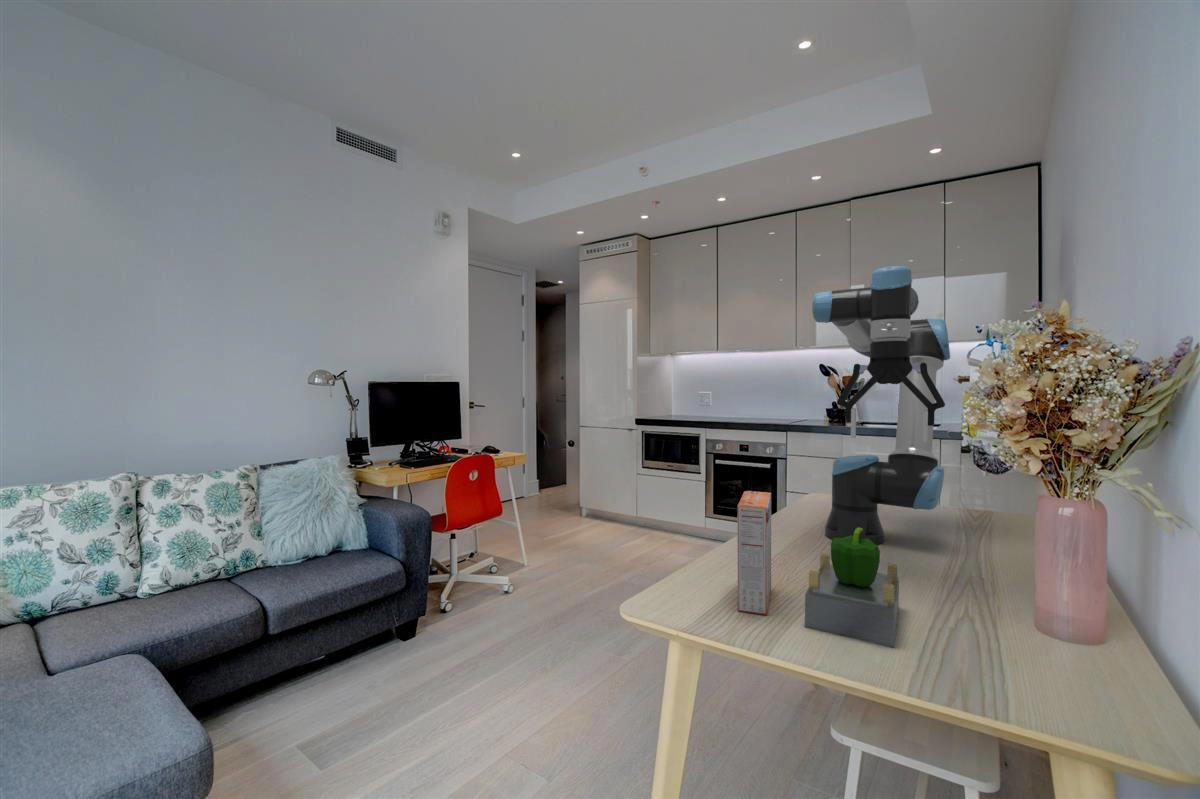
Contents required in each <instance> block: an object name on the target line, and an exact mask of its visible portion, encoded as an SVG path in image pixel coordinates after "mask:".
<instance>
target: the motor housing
mask: <svg viewBox="0 0 1200 799" xmlns="http://www.w3.org/2000/svg"><path fill="white" fill-rule="evenodd" d="M819 555H820V556H819V557H820V558H819V562H820V563H819V569H818V571H816V570H812V569H810V570H809V572H808V589H807V590H806V592H805V594H804V627H805V628H807V629H812V630H818V631H821V632H825V633H830V634H834V635H839V636H843V637H847V638H850V639H855V640H860V641H865V642H867V643H873V644H876V645H880V646H886V647H888V648H889V647H890V648H894V646H895V638H896V632H897V631H896V630H897V623H898V622H897V621H898V614H899V609H900V608H899V606H900V605H899V603H900V600H899V598H900V596H899V595H900V577H898V576H899V575H898V570H899V568H898V566H899V565H898V564H896V563H890V562H889V563H887V573H882V572H877V574H876V577H875V581H874V582H873V583H872V585H870V586H868V587H861V586H857V585H854V584H846V583H842V582H841V581H839V580H838V579H837V577H836V576H835V572H834V569H833V565H832V564H831V553H827V552H820V554H819Z"/></svg>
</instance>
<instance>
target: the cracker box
mask: <svg viewBox="0 0 1200 799" xmlns="http://www.w3.org/2000/svg"><path fill="white" fill-rule="evenodd" d="M736 509H737V510H736V513H737V515H736V518H737V519H736V520H737V522H736V524H737V526H736V527H737V528H736V529H737V532H736V533H737V536H736V537H737V539H736V540H737V542H736V543H737V611H738V612H741V613H743V612H744V613H749V614H750V613H751V614H756V615H764V616H768V614H769V606H770V600H771V591H772V492H767V491H756V490H755V491H753V490H745V491H744V492H743V494H742V495H741V498H740V500H739V502H738V504H737V507H736Z"/></svg>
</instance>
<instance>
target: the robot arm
mask: <svg viewBox="0 0 1200 799" xmlns="http://www.w3.org/2000/svg"><path fill="white" fill-rule="evenodd" d="M912 283H913V279H912V270H911V268H910V267H908V266H902V265H901V266H900V265H899V266H898V265H897V266H895V265H894V266H893V265H892V266H886V267H880V268H878V269H876V270H874V271H873V272H872V274H871V283H870V287H869V286H867V287H860V288H849V289H848V288H847V289H838V290H828V291H821V292H817V293H815V295H814V296H813V299H812V305H811V306H812V307H811V311H812V317H813V319H814V321H815V322H816V323H819V324H820V323H823V324H824V323H825V324H828V323H832V324H833V325H834V326H835V327H836V328H837V329H838V330H839V331H840V332H841V333H842V334H843V335H844V336H845V337H846V339H847V343H848V345H849V346H850V347H851V349H853V350H854V351H855V352H857V353H858V354H860V355H862V356H864V357H867V358H869V363H868V365H867V364H859V363H855V364H854V365H853V368H852V369H853V370H852V375H851V376H850V378H849V379H848V381H847V383H846V385H845V386H844V388H843V390H842V392H841V394H840V395H839V397H838V399H837V401H836V404H837V406H841V407H844V408H845V422H846V423H849V424H850V439H855V438H857V408H856V407H854V408H853V406H855V405H856V404H857V402H859V400H860V399H861V398H863V396H864V395H866V393H867V392H868V391H869V390H870V389H872V388H873V386H874V385H875V384H876V383H878V384H879V385H888V384H891V385H899V384H900V386H899V396H898V397H899V398H898V406H897V407H898V409H897V422H896V435H895V447H894V450H893V451H892V452H890V453H889V454H888V456H887V457H888V458H887V461H880V458H879V456H877V455H872V454H871V455H870V454H866V455H865V454H863V455H862V454H861V455H848V456H847V455H846V456H840V457H838V458H836V459H834V460H833V463H832V473H831V477H832V478H831V509H830V512H829V515H828V517H827V520H826V523H825V526H824V535H825V536H826V537H827V538H829V539H831V540H833V538H844V537H847V536H853V535H854V531H855V529H857V528H858V527H859V528H862V529H863V532H862V533H860V534H859V539H864V538H867V539H870V540H871V541H872V542H873V544H875V545H880V544H882V543H884V542H885V531H884V529H883V525H882V523H881V519H880V517H879V514H878V505H883V506H893V507H901V508H910V509H914V510H928V511H929V510H933V509H935V508H937V506H938V504H939V502H940V498H941V494H942V489H943V485H944V476H945V468H944V467H943V466H941V465H939V459H938V458H937V457H936V456H935V455H933V439H934V438H933V436H934V424H935V412H936V410H937V409H942V408H945V406H946V403H945V401H944V400H943V398H942V395H941V394H940V392H939V391H938V389H937V387H936V386H937V374H938V373H937V372H938V371H940V369H942V368H943V367H944V364H945V363H944V361H948V360H950V359H951V350H950V343H949V342H950V341H949V334H948V328H947V327H948V326H947V322H946V321H945V320H944V319H941V318H925V319H923V318H922V319H911V318H912V315H913V314H914V313H916V311H917V309H918V307H919V304H920V301H919V296H918V294H917V293H918V292H917V291H916V290H915V289H914V288H913V287H912ZM865 371H867V372H868V373H869V374H870V375H871V377H870V378H869V379H868V380H867V382H866V383H865V384H864V385H862V387H861V388H860V389H859V390H858V391H857V392H856V393H855V394H854V395H853V396H852V398H850V399H849V400H848V401H846V400H847V399H848V397H849V395H850V393H851V392H852V390H853V388H854V387H855V384H856V383H857V381H858V379H859V377H860V375H863V374H864V372H865Z"/></svg>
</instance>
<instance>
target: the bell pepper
mask: <svg viewBox="0 0 1200 799" xmlns="http://www.w3.org/2000/svg"><path fill="white" fill-rule="evenodd" d="M862 532H863V529H862V528H859V527H858V528H857V529H855V531H854V535H853V536H847V537H844V538H833V539H831V542H830V561H831V565H833V569H834V572H835V576H836V577H837V579H838V580H839V581H841V582H842V583H846V584H854V585H857V586H861V587H868V586H870V585H872V583H873V582H874V581H875V577H876V574H877V573H878V571H879V567H880V563H881V561H880V559H881V551H880V549H879V547H878V544H873V542H872V541H871V540H870V539H867V538H864V539H859V534H860V533H862Z"/></svg>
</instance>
